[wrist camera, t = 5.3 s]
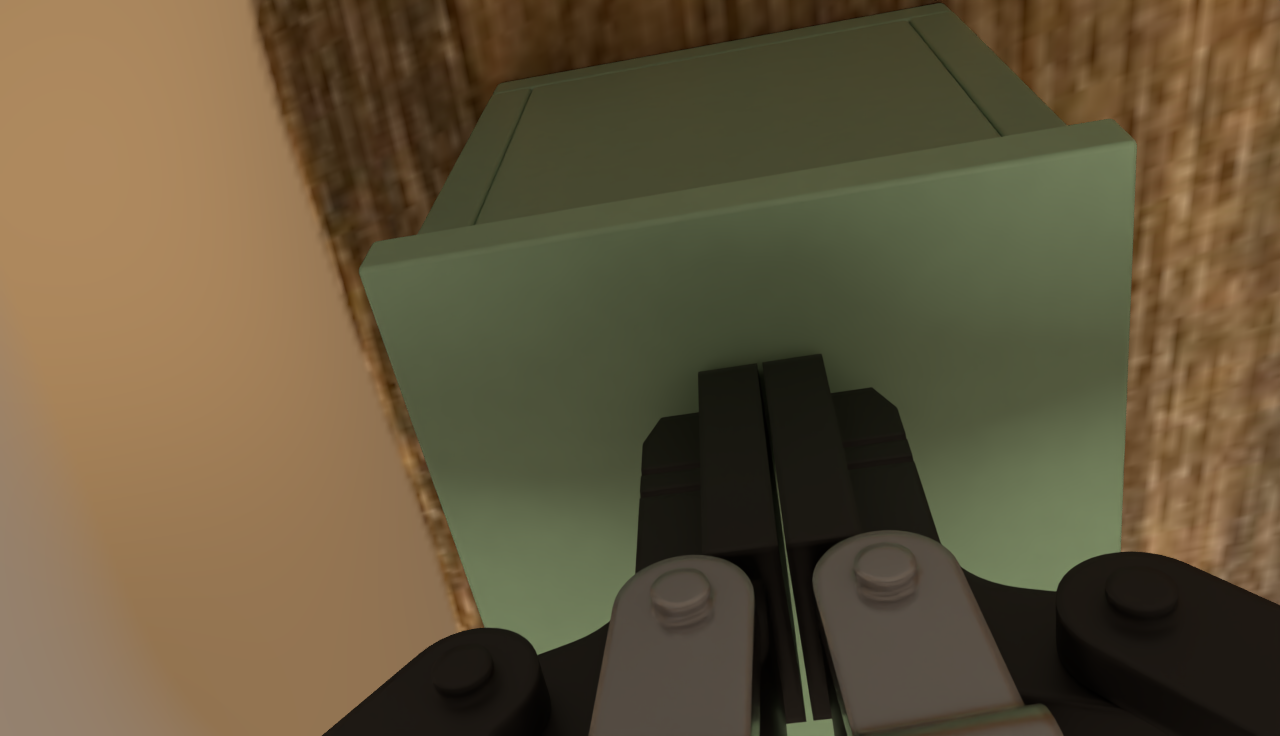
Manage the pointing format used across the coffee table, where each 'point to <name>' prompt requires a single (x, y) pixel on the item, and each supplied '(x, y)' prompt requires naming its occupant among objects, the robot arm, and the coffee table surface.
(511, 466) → the lunchbox lid
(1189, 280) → the coffee table surface
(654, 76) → the lunchbox
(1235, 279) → the coffee table surface
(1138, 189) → the coffee table surface
